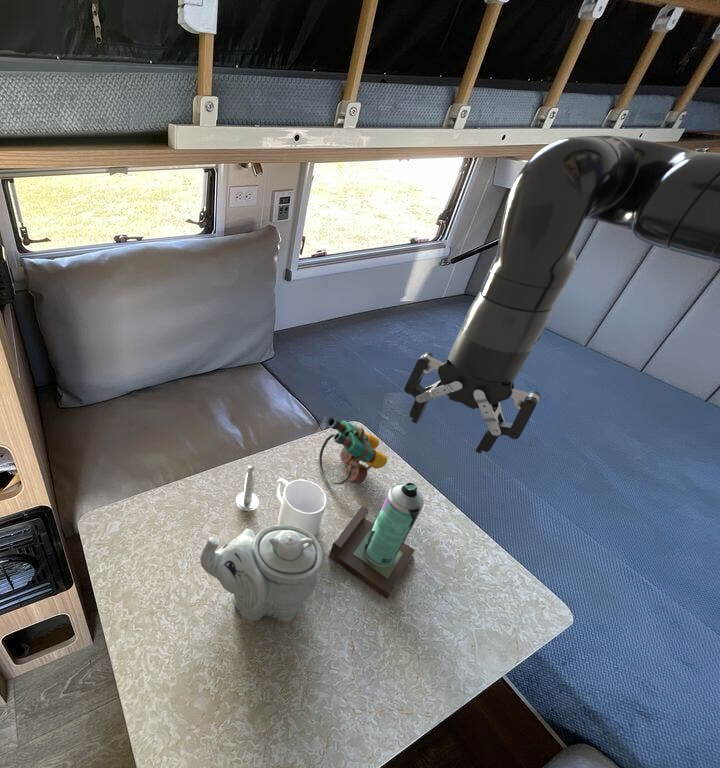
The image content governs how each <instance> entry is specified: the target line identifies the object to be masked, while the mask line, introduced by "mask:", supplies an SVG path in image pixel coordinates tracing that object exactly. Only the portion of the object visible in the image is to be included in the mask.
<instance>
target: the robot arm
mask: <svg viewBox="0 0 720 768" xmlns="http://www.w3.org/2000/svg"><path fill="white" fill-rule="evenodd" d="M586 220H592V221H597V222H601V223H604V224H608V225H612V226H616V227H620V228H622V229H626V230H631V231H632V233H633V235H634V237H635V238H637V240H640V241H642V242H644V243H647V244H649V245H652V246H654V247H657V248H660V249H663V250H664V249H665V250H670V251H672V252H675V253H680V254H684V255H687V256H690V257H695V258H699V259H702V260H705V261H710V262H713V263H716V264H720V152H708V151H707V152H705V151H704V152H703V151H701V152H700V151H695V150H691V149H687V148H683V147H679V146H675V145H669V144H666V143H661V142H655V141H650V140H645V139H639V138H634V137H627V136H618V135H588V136H587V135H585V136H584V135H583V136H571V137H565V138H561V139H558V140H556V141H552V142H551V143H549V144H547V145H545V146H543V147H542V148H541V149H540V150H538V151H537V152H536V153H535V154H533V155H532V157H530V158H529V159H528V161H527V162H526V163H525V164H524V166H523V167H522V168H521V171H519V173H518V175H516V178H515V180H514V182H513V184H512V186H511V188H510V191H509V193H508V196H507V199H506V203H505V206H504V212H503V216H502V221H501V226H500V230H499V235H498V243H497V251H496V255H495V257H494V259H493V261H492V263H491V265H490V267H489V269H488V271H487V274H486V276H485V278H484V280H483V282H482V285H481V287H480V290H479V292H478V294H477V295H476V297H475V298H474V300H473V302H471V305H470V307H469V308H468V310H467V313H466V315H465V318H464V320H463V322H462V324H461V327H460V329H459V330H458V333H457V335H456V338H455V341H454V342H453V345H452V347H451V349H450V351H449V354H448V356H447V358H446V360H443V361H442V360H439V359H437V358H435V357H434V354H433V353H432V352H430V351H426V352H424V353H423V354H422V355H421V356H420V357H419V358H418V360H417V361H416V363H415V365H414V367H413V369H412V371H411V373H410V375H409V377H408V380H407V382H406V383H405V386H404V388H403V390H404V392H405V393H406V394H407V395H411V396H412V397H413V399H414V402H413V404H412V407H411V409H410V412H409V417H410V418H411V423H413V424H415V425H417V424H418V423H419V421H420V420H421V419H422V417H423V415H424V413H425V410H426V408H427V406H428V403H429V401H431V400H436V399H438V398H441V397H443V396H445V395H446V396H447V397H448V400H450V401H452V402H456V403H461V404H462V405H464V406H466V407H467V408H469V409H472V410H475V409H479V411H480V414H481V417H482V419H483V421H485V422H486V425H487V427H488V428H487V429H486V431H485V433H484V435H483V436H482V437H481V440H480V441H479V443H478V445H477V446H476V449H475V451H474V452H475V453H477V454H480V455H481V454H482V452H485V453H488V452H489V451H491V449H492V448H493V446H494V445H495V443H496V441H497V439H498V438H499V437H501V436H507V437H509V438H510V439H512V440H518V439H519V438H520V437H521V435H522V433H523V431H524V430H525V428H526V426H527V424H528V423H529V420H530V418H531V417H532V415H533V413H534V411H535V409H536V407H537V405H538V403H539V400H540V398H541V393H540V392H539V391H537V390H530V391H525V390H521V389H517V388H515V385H514V384H515V383H514V382H515V380H516V379H517V377H518V375H519V374H520V371H521V370H522V368H523V366H524V365H525V363H526V361H527V359H528V357H529V356H530V354H531V352H532V350H533V349H534V347H535V346H536V344H537V343H538V341H539V340H540V338H541V336H542V333H543V332H544V330H545V329H546V328H545V327H546V325H547V323H548V320H549V318H550V315H551V313H552V311H553V308H554V307H555V305H556V303H557V302H558V300H559V298H560V296H561V294H562V293H563V291H564V289H565V287H566V285H567V284H568V283H569V280H570V278H571V276H572V274H573V272H574V270H575V268H576V264H577V256H576V255H575V253H574V251H573V250H572V249H573V246H574V244H575V242H576V240H577V238H578V235H579V233H580V231H581V228H582V226H583V224H584V222H585V221H586ZM434 370H437V373H438V374H437V375H438V377H439V380H438V381H436V382H435V383H433V384H429V385H428V386H426V387H424V386H423V385H421V382H422V380H423V378H424V376H425V374H430V373H431V372H432V371H434ZM508 399H512V400H513V406H514V407H513V408H515V409H516V410H518V412H517V414H516V416H515V418H514V420H513V422H511V421H506V419H505V417H504V414H503V411H502V404H501V402H503V401H506V400H508Z"/></svg>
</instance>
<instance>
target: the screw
mask: <svg viewBox="0 0 720 768" xmlns="http://www.w3.org/2000/svg"><path fill="white" fill-rule="evenodd" d="M255 471H256V467H255V466H251V465H249V466H248V469H247V473H246V476H245V481H244V490H243V492H240V493H239V494H237V496H236V498H235V502H236V503H235V504H236V507H238V508H239V509H240V510H241V511H244V512H246V513H249V512H253V511H255V510H256V509H257V508H258V507H259V498H258V497H257V496H256V494H254V489H255V480H256V478H255V477H256V475H255Z"/></svg>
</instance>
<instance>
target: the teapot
mask: <svg viewBox="0 0 720 768" xmlns="http://www.w3.org/2000/svg"><path fill="white" fill-rule="evenodd" d="M218 547H219V541H218V539H217V538H216V537H213V536H210V537H209V538H208V539H207V542H206V544H205V546H204V548H203V549H202V551H201V554H200V559H199V560H200V565H201V567H202V569H203V570H204V571H205V572H206V573H207V574H209V575H210V576H212V577H214V579H216V580H217V581H218V582H219V583H220V585H221V587H222V588H223V589H224V590H226V591H227V592H228V593H231V594H232V595H233V597H234V598H233V599H234V601H233V602H234V603H233V606H234V609H235V610H236V612H237V613H238V614H239V616H240V617H242V618H243V619H245V620H247V621H250V622H257V621H259V620H261V619H262V618H263V617H266V616H267V617H268V616H269V617H271V618H273V619H275V620H277V621H279V622H282V623H288V622H291V621H292V620H293V619H294V618H295V617H296V615H297V612H298V611H299V610H300V609H301V608H302V607H303V605H304V604H305V602H306V601H307V600H308V599H309V598H310V597H311V595H312V594H313V592H314V589H315V588H316V583H317V580H318V574H319V573H320V571H321V569H322V566H323V560H324V559H323V550H322V547H321V546H320V543H319V542H318V540H317V538H316V536H315V537H314V536H313V535H311V534H310V533H309V532H308V531H306V530H304V529H302V528H300V527H296V526H290V525H278V524H276V525H275V524H274V525H269V526H266V527H264V528H262V529H261V530H260V531H259V532H258V533H257V534H256V533H255V531H253V530H252V529H251V528H246V529H244V530H243V531H242V532H241V533H240V534H239V535H238V536H237V537H236V538H234V539H232V540H231V541H230V542H228V543H226V544H224V545H222V546H221V547H220V548H219V549H218ZM217 549H218V550H217Z"/></svg>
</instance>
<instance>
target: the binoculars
mask: <svg viewBox="0 0 720 768" xmlns="http://www.w3.org/2000/svg"><path fill="white" fill-rule="evenodd" d="M327 426H328V427H329V428H330V429H333V430H336V431H337V432H336V433H332V434H329V436H328V437H326V439H325V440H324V442H323V443H322V445H321V447H320V451H319V455H318V464H319V465H318V466H319V469H320V473H321V475H322V477H323V478H324V479H325V481H326V482H328V483H330V484H332V485H336V486H337V485H339V486H340V485H344V484H345V483H347V482H348V481H350V482H352V483H354V484H356V485H361V484H363V483H364V482H365V481H366V479H367V477H368V471H369V470H371V468H372V469H373V468H374V469H375V470H376V469H381V468H383V467H384V466H385V465H386V464H387V463H388V457H387V455H386V454H384V453H382V452H380V451H379V450H377V448H378V447H379V445H380V439H379V438H378V437H376V436H374V435H373V434H370V433H369V432H365V429H364V428H363V427H360V426H357V425H354V424H352V423H350V422H348V421H346V420H342V421H340V420H339V419H337V418H336V417H332V416H331V417H329V418H327ZM331 439H332V442H334V443H336V444H338V445H341V446H343V447H342V448H341V451H340V455H339V456H340V457H339V458H340V462H342V463H343V464H344V465H346V469H345V474H346V477H345V478H344V479H343V480H341V481H340V482H332V481H329V479H328V478H327V476H326V474H325V472H324V467H323V453H324V450H325V448H326V447H327V445H328V442H329V441H330V440H331ZM360 462H362V463H365V464H366V465H367V466H366V465H365V464H362V463H360Z"/></svg>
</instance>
